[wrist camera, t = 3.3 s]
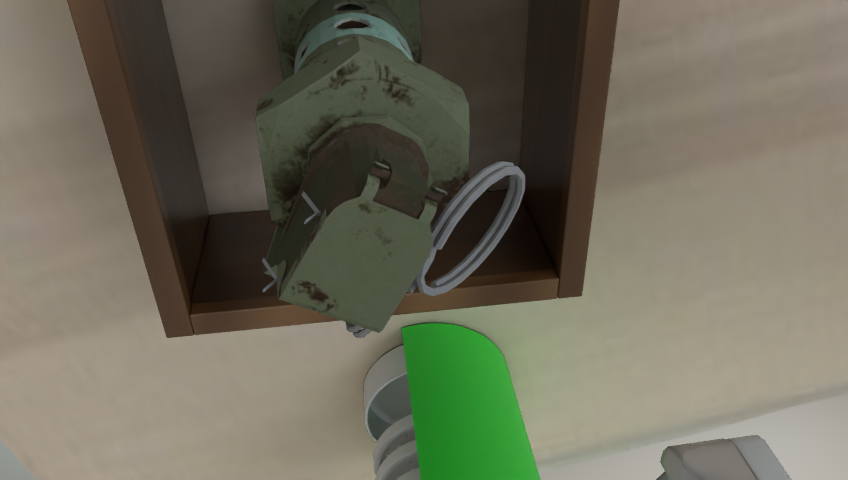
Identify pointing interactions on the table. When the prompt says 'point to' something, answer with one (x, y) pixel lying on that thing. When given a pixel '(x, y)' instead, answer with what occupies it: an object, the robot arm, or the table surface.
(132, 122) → the wooden box
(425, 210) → the grenade
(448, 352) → the green-shelled ribbed roller
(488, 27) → the table surface
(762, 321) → the table surface
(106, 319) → the table surface
